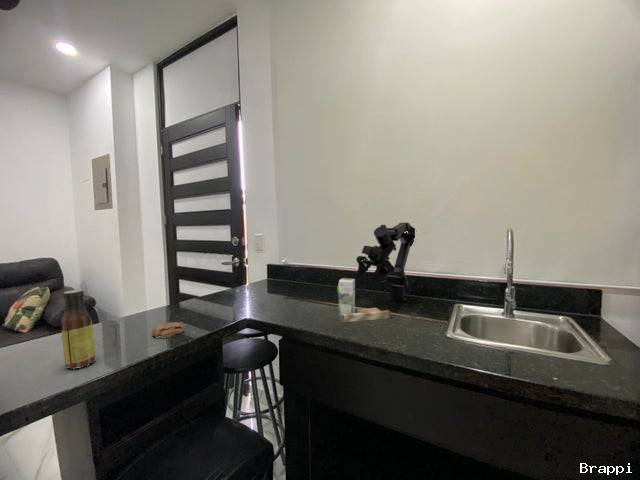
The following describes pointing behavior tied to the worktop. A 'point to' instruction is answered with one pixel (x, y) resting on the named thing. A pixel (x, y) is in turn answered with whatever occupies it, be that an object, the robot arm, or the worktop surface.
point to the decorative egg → (338, 286)
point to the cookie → (167, 329)
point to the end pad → (367, 310)
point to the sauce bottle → (77, 331)
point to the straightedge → (364, 316)
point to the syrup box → (346, 296)
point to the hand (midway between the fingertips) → (363, 279)
